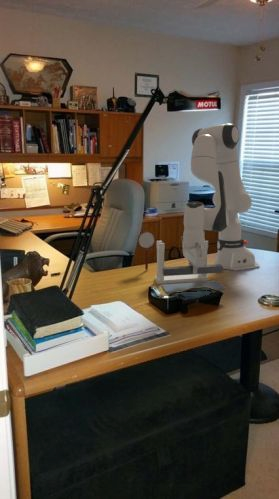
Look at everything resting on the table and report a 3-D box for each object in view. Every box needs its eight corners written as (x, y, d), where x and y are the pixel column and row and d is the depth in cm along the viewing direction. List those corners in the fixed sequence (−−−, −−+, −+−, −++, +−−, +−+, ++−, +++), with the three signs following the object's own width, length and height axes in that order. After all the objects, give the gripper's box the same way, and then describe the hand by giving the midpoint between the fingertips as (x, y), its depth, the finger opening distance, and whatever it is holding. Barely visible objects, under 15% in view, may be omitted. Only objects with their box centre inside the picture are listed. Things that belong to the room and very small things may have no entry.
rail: (220, 270, 177) (220, 264, 177) (222, 272, 175) (222, 265, 174) (162, 274, 173) (162, 267, 172) (164, 276, 170) (164, 269, 170)
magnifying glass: (154, 269, 202) (154, 230, 198) (155, 270, 201) (155, 231, 196) (137, 271, 201) (137, 231, 196) (138, 271, 199) (138, 232, 194)
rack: (204, 276, 190) (205, 238, 186) (208, 280, 185) (210, 241, 180) (154, 279, 186) (154, 240, 182) (157, 283, 181) (157, 243, 176)
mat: (217, 282, 182) (217, 280, 182) (225, 289, 173) (225, 288, 173) (161, 285, 178) (161, 284, 178) (166, 293, 168) (166, 292, 168)
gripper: (209, 245, 161) (208, 278, 164) (193, 235, 181) (193, 265, 184) (193, 246, 160) (193, 279, 163) (180, 236, 180) (179, 265, 183)
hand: (193, 271), depth 174 cm, fingers closed on rail, 3 cm apart
